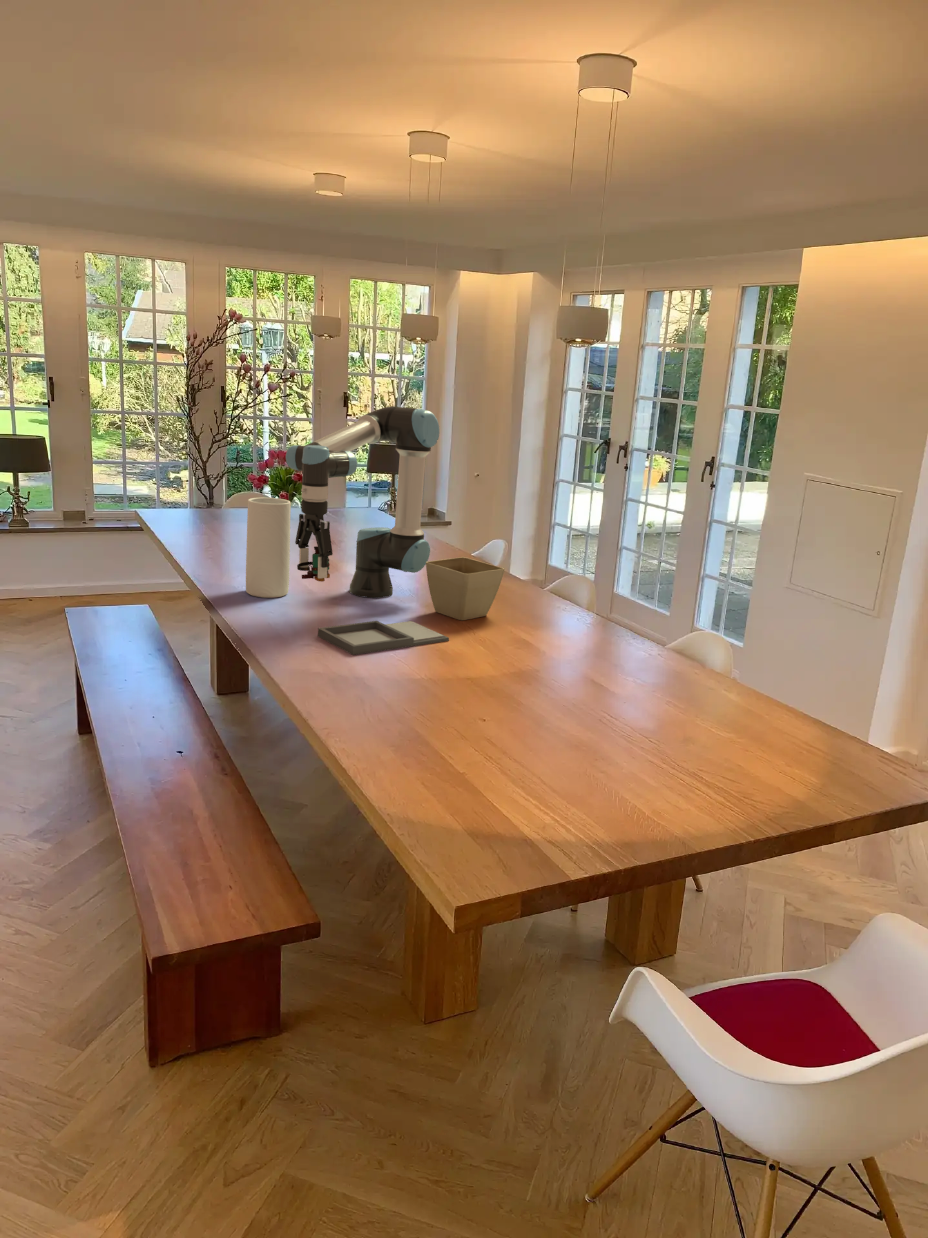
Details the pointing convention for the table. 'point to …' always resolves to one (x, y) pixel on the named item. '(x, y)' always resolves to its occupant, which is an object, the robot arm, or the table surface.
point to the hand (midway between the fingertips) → (312, 573)
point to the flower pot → (463, 586)
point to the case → (379, 636)
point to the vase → (268, 547)
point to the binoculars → (314, 569)
